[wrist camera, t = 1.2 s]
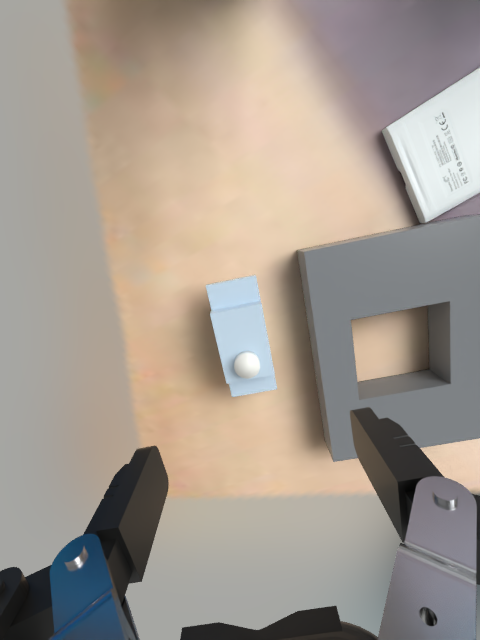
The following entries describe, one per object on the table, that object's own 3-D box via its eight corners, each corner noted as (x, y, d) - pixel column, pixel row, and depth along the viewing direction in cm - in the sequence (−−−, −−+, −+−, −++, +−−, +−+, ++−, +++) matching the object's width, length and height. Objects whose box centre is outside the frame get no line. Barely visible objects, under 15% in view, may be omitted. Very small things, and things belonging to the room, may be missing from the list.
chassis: (296, 250, 26) (303, 251, 23) (461, 216, 25) (490, 213, 22) (324, 440, 31) (333, 461, 28) (460, 418, 30) (484, 437, 27)
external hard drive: (560, 140, 24) (416, 224, 25) (532, 34, 22) (377, 132, 24) (583, 134, 22) (427, 223, 24) (555, 18, 20) (387, 125, 22)
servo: (210, 279, 26) (202, 290, 21) (253, 270, 26) (257, 279, 21) (233, 377, 29) (231, 410, 24) (272, 370, 29) (280, 401, 23)
